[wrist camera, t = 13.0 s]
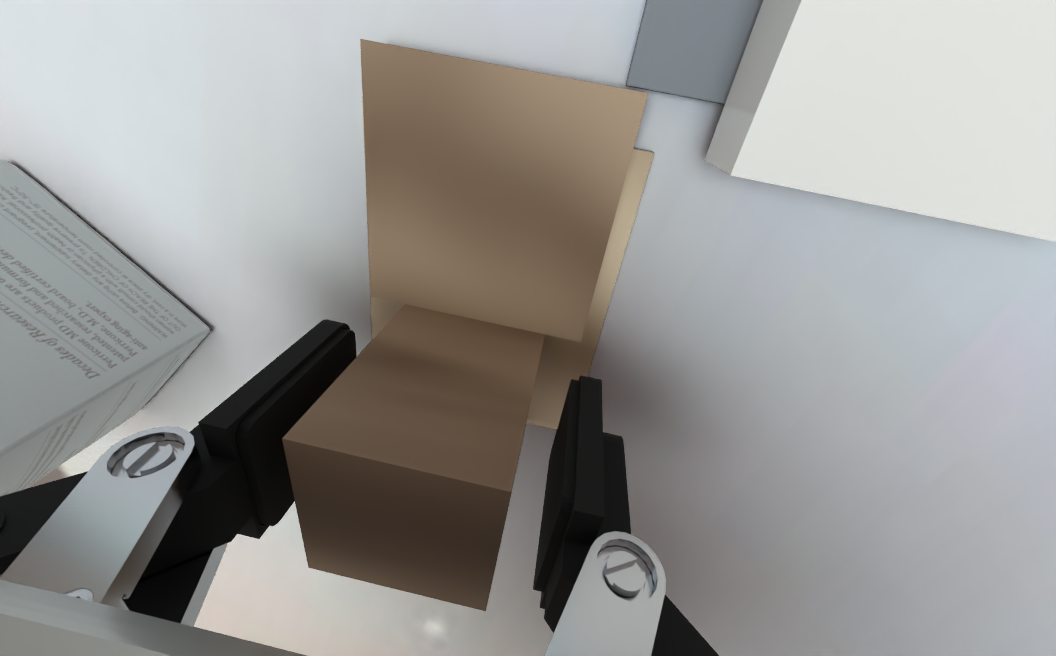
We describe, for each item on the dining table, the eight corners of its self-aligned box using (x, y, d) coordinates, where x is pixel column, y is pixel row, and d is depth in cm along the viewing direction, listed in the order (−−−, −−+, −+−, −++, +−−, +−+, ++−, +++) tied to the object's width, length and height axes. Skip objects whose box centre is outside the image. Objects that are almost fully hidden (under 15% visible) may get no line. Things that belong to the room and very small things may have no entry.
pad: (571, 426, 14) (570, 433, 14) (377, 383, 14) (374, 388, 14) (652, 151, 10) (654, 153, 9) (368, 95, 10) (362, 96, 10)
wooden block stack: (554, 426, 14) (530, 622, 9) (385, 388, 14) (265, 556, 9) (644, 93, 9) (712, 88, 4) (378, 43, 9) (90, -28, 4)
